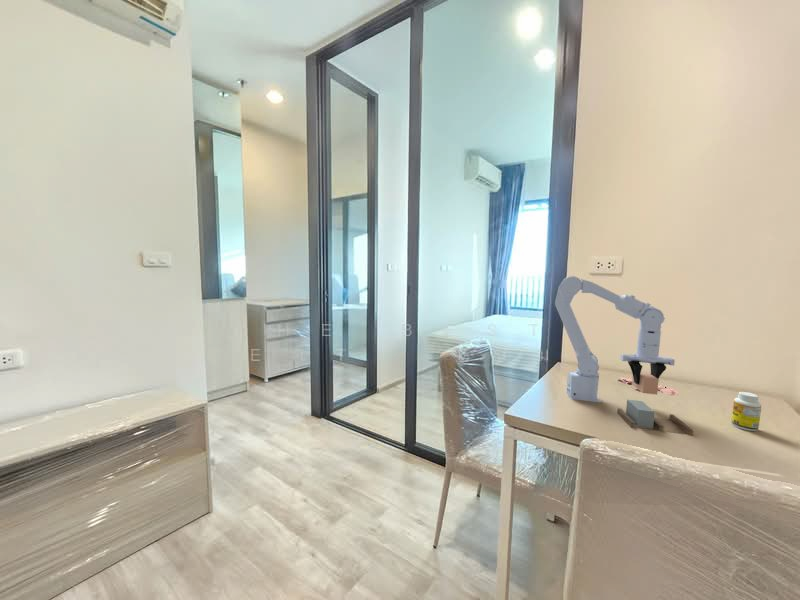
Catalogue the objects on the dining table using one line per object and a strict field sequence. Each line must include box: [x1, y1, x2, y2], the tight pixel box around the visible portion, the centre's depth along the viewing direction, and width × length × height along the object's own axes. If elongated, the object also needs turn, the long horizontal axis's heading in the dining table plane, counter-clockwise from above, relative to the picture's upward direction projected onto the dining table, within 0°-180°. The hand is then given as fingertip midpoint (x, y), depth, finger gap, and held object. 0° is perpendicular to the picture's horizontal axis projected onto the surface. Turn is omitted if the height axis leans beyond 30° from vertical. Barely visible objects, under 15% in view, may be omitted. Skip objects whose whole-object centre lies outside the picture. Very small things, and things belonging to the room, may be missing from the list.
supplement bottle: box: [731, 391, 762, 432], centre depth 96 cm, size 6×6×10 cm
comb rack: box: [616, 408, 694, 436], centre depth 97 cm, size 15×10×2 cm, turn 75°
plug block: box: [631, 370, 660, 395], centre depth 108 cm, size 4×8×5 cm, turn 165°
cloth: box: [617, 377, 681, 396], centre depth 131 cm, size 20×22×2 cm
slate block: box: [625, 399, 656, 429], centre depth 97 cm, size 4×8×5 cm, turn 165°
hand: (644, 384), depth 108 cm, fingers closed on plug block, 4 cm apart
